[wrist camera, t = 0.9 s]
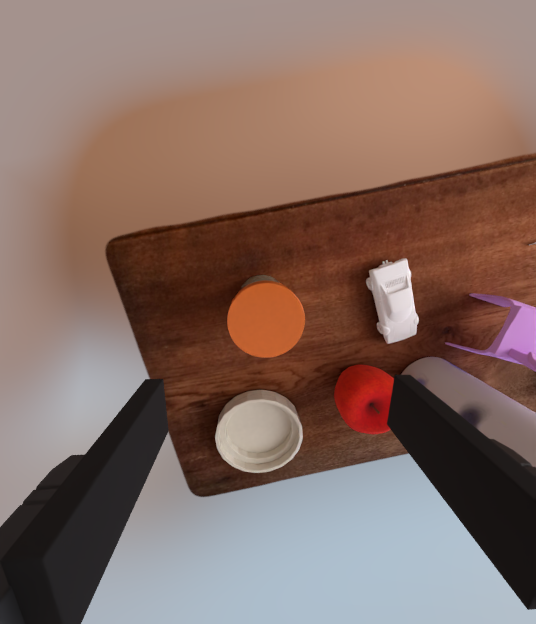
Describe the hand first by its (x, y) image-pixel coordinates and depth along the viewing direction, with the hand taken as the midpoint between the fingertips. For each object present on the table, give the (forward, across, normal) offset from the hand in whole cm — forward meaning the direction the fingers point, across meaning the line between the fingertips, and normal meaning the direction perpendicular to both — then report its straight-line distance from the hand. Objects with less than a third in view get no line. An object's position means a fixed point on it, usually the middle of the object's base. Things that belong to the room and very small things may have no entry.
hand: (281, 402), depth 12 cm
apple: (+24, +14, -13) cm, 31 cm away
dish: (+24, 0, -21) cm, 32 cm away
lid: (+13, 0, 0) cm, 13 cm away
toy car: (+24, +18, 0) cm, 30 cm away
